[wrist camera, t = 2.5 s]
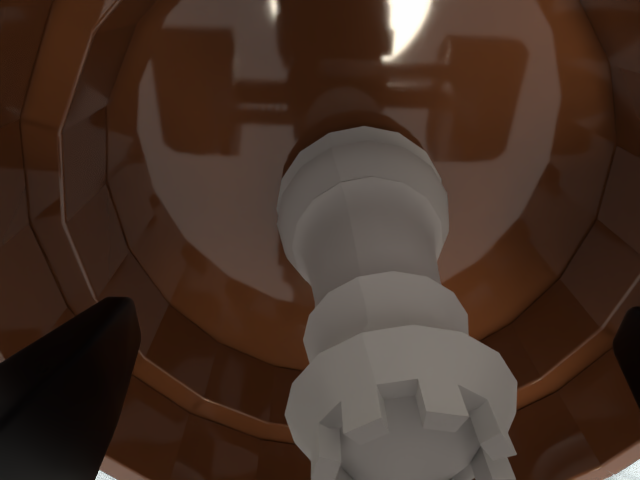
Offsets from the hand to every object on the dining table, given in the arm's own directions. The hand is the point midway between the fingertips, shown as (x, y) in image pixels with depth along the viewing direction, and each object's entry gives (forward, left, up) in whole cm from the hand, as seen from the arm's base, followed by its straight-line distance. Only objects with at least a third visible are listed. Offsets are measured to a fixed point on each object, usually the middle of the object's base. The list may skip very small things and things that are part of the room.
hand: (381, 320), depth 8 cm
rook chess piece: (0, 0, -5) cm, 5 cm away
